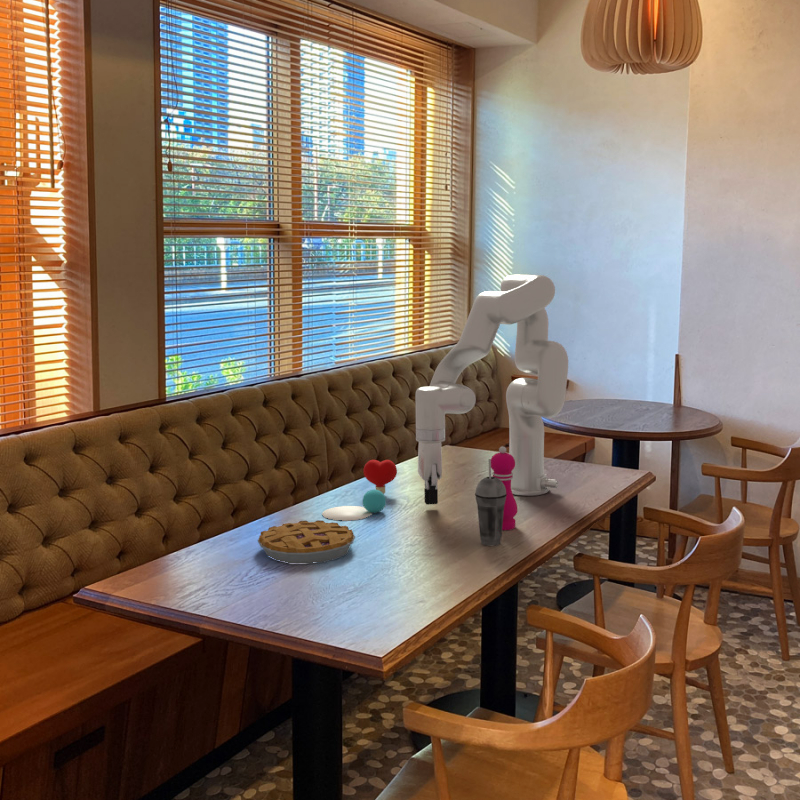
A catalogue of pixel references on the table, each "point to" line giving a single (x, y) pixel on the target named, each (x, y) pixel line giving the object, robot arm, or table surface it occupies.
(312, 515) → the table surface
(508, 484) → the pepper mill
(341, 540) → the pie
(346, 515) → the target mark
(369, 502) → the ball
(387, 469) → the light bulb
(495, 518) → the beverage cup
